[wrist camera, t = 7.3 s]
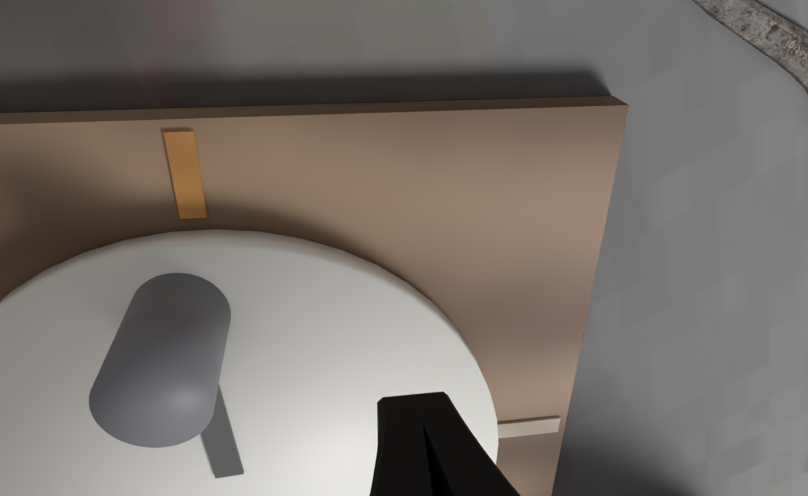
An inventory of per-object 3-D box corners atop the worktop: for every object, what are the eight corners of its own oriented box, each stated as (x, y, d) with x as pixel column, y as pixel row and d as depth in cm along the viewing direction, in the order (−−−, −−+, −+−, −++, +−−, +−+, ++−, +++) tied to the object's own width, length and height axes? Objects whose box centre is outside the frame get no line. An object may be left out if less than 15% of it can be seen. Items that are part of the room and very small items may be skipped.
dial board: (522, 586, 29) (529, 609, 28) (-10, 662, 26) (-22, 691, 25) (612, 95, 17) (630, 106, 16) (-343, 122, 14) (-391, 137, 13)
